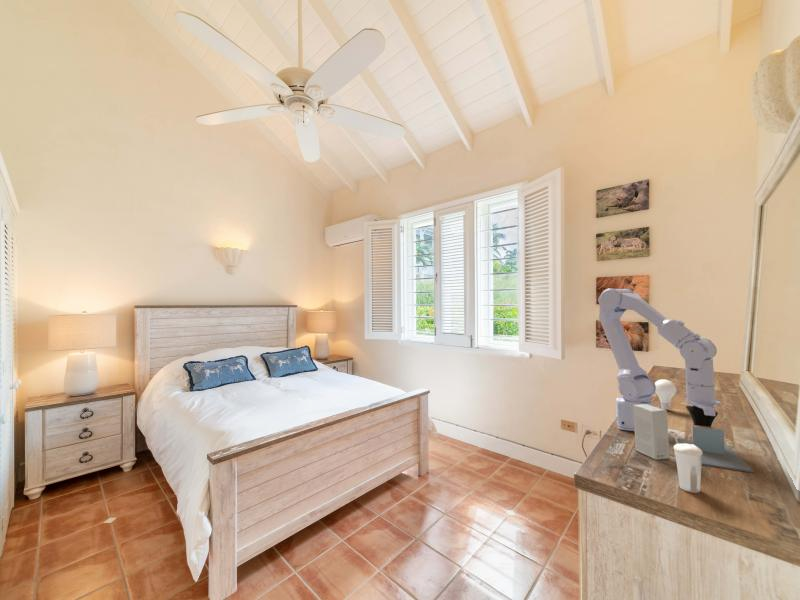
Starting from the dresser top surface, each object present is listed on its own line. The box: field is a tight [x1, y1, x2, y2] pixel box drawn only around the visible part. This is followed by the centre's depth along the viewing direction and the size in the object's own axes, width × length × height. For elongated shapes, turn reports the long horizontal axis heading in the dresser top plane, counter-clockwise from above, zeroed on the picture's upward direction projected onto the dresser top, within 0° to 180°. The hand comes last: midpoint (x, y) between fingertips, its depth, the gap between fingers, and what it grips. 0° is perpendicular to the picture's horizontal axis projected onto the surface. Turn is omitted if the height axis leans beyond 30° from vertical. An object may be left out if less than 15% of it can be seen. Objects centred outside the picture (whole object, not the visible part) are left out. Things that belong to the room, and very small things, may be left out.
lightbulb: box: [654, 378, 677, 411], centre depth 120 cm, size 6×6×11 cm
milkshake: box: [673, 434, 702, 494], centre depth 69 cm, size 5×5×10 cm
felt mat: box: [673, 437, 755, 474], centre depth 84 cm, size 11×16×1 cm
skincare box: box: [633, 404, 670, 460], centre depth 85 cm, size 6×4×12 cm
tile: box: [690, 424, 725, 454], centre depth 85 cm, size 6×2×6 cm, turn 61°
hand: (702, 435), depth 89 cm, fingers closed
